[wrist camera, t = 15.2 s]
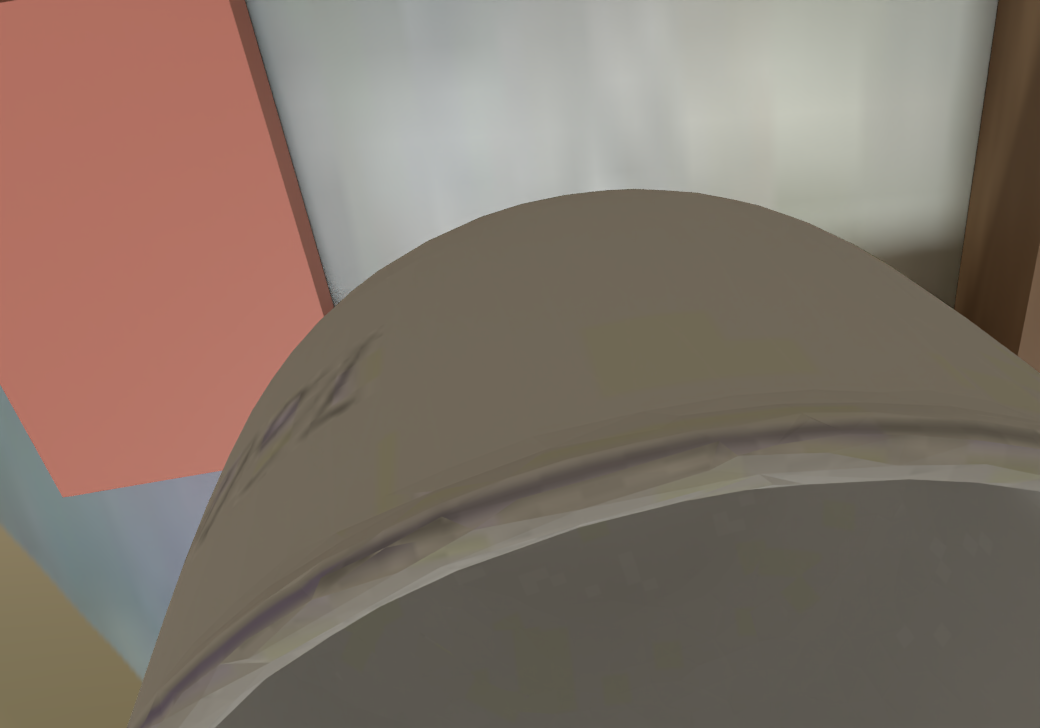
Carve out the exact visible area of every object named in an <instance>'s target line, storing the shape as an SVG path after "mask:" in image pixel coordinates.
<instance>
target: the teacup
mask: <svg viewBox="0 0 1040 728" xmlns="http://www.w3.org/2000/svg"><path fill="white" fill-rule="evenodd" d="M127 728H1040V373H1039V372H1038V371H1036V370H1035V369H1034V368H1033V367H1031V366H1030V365H1029V364H1027V363H1026V362H1025V361H1023V360H1022V359H1021V358H1019V357H1018V356H1017V355H1015V354H1014V353H1013V352H1011V351H1010V350H1009V349H1007V348H1006V347H1005V346H1003V345H1002V344H1001V343H999V342H998V341H997V340H995V339H994V338H993V337H991V336H990V335H989V334H987V333H986V332H985V331H983V330H982V329H980V328H979V327H978V326H976V325H975V324H974V323H972V322H971V321H970V320H968V319H967V318H966V317H964V316H963V315H961V314H960V313H958V312H957V311H955V310H954V309H953V308H951V307H950V306H948V305H947V304H945V303H944V302H942V301H941V300H939V299H938V298H937V297H935V296H934V295H932V294H931V293H929V292H928V291H926V290H925V289H923V288H922V287H921V286H919V285H918V284H916V283H915V282H913V281H912V280H910V279H909V278H907V277H906V276H904V275H903V274H901V273H900V272H899V271H897V270H896V269H894V268H893V267H891V266H890V265H888V264H887V263H885V262H883V261H881V260H880V259H878V258H876V257H874V256H873V255H871V254H869V253H867V252H866V251H864V250H862V249H860V248H859V247H857V246H855V245H853V244H852V243H850V242H847V241H845V240H843V239H841V238H839V237H837V236H835V235H833V234H831V233H829V232H826V231H824V230H822V229H820V228H818V227H816V226H814V225H812V224H810V223H807V222H804V221H802V220H799V219H796V218H793V217H790V216H788V215H785V214H782V213H779V212H776V211H773V210H770V209H767V208H764V207H761V206H758V205H754V204H750V203H746V202H741V201H737V200H732V199H727V198H722V197H716V196H711V195H706V194H701V193H692V192H679V191H665V190H644V189H624V190H606V191H596V192H587V193H578V194H570V195H563V196H558V197H553V198H548V199H543V200H539V201H534V202H529V203H524V204H520V205H517V206H514V207H511V208H508V209H504V210H501V211H498V212H495V213H492V214H489V215H486V216H482V217H480V218H478V219H475V220H473V221H471V222H469V223H466V224H464V225H462V226H460V227H458V228H455V229H453V230H451V231H449V232H447V233H444V234H442V235H440V236H438V237H436V238H433V239H431V240H429V241H427V242H425V243H424V244H422V245H420V246H419V247H417V248H415V249H414V250H412V251H410V252H409V253H407V254H405V255H404V256H402V257H400V258H399V259H397V260H395V261H394V262H392V263H390V264H389V265H387V266H385V267H384V268H382V269H380V270H379V271H377V272H376V273H375V274H373V275H372V276H371V277H370V278H368V279H367V280H366V281H364V282H363V283H362V284H360V285H359V286H358V287H357V288H355V289H354V290H353V291H352V292H350V293H349V294H348V295H347V296H346V297H345V298H344V299H343V300H342V301H341V302H339V303H338V304H337V305H336V306H335V307H334V308H333V309H332V310H331V311H330V312H329V313H327V314H326V315H325V316H324V317H323V318H322V319H321V320H320V321H319V322H318V323H317V324H316V325H315V326H314V328H313V329H312V330H311V331H310V332H309V333H308V334H307V335H306V337H305V338H304V339H303V340H302V341H301V342H300V343H299V344H298V346H297V347H296V348H295V349H294V350H293V351H292V352H291V354H290V355H289V356H288V358H287V359H286V361H285V362H284V363H283V365H282V366H281V367H280V369H279V370H278V372H277V373H276V374H275V376H274V377H273V378H272V380H271V381H270V383H269V385H268V386H267V388H266V389H265V391H264V393H263V394H262V396H261V397H260V399H259V400H258V402H257V404H256V405H255V407H254V408H253V410H252V412H251V414H250V416H249V418H248V420H247V421H246V423H245V425H244V427H243V429H242V431H241V433H240V435H239V437H238V439H237V441H236V443H235V445H234V447H233V449H232V451H231V453H230V455H229V457H228V459H227V462H226V464H225V466H224V468H223V471H222V473H221V475H220V478H219V480H218V482H217V484H216V487H215V489H214V491H213V494H212V496H211V498H210V500H209V503H208V505H207V507H206V510H205V512H204V515H203V517H202V520H201V522H200V525H199V527H198V530H197V532H196V535H195V537H194V540H193V542H192V545H191V547H190V550H189V552H188V555H187V557H186V560H185V563H184V565H183V568H182V571H181V574H180V576H179V579H178V582H177V585H176V588H175V590H174V593H173V596H172V599H171V601H170V604H169V607H168V610H167V613H166V616H165V618H164V621H163V624H162V627H161V630H160V633H159V636H158V639H157V642H156V645H155V648H154V650H153V653H152V656H151V659H150V662H149V665H148V668H147V671H146V674H145V677H144V680H143V683H142V685H141V688H140V692H139V694H138V697H137V700H136V703H135V706H134V709H133V712H132V715H131V717H130V720H129V723H128V727H127Z"/></svg>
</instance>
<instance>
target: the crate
mask: <svg viewBox="0 0 1040 728" xmlns="http://www.w3.org/2000/svg"><path fill="white" fill-rule="evenodd" d="M954 310H955V311H957V312H958V313H960V314H961V315H963V316H964V317H966V318H967V319H968V320H970V321H971V322H972V323H974V324H975V325H976V326H978V327H979V328H980V329H982V330H983V331H985V332H986V333H987V334H989V335H990V336H991V337H993V338H994V339H995V340H997V341H998V342H999V343H1001V344H1002V345H1003V346H1005V347H1006V348H1007V349H1009V350H1010V351H1011V352H1013V353H1014V354H1015V355H1017V356H1018V357H1019V358H1021V359H1022V360H1023V361H1025V362H1026V363H1027V364H1029V365H1030V366H1031V367H1033V368H1034V369H1035V370H1036V371H1038V372H1039V373H1040V0H999V2H998V9H997V16H996V23H995V30H994V37H993V44H992V51H991V58H990V65H989V71H988V78H987V85H986V92H985V99H984V106H983V113H982V120H981V127H980V134H979V141H978V148H977V154H976V161H975V168H974V175H973V182H972V189H971V196H970V203H969V210H968V217H967V224H966V231H965V237H964V244H963V251H962V258H961V265H960V272H959V279H958V286H957V293H956V300H955V307H954Z"/></svg>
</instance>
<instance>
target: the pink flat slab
mask: <svg viewBox="0 0 1040 728" xmlns="http://www.w3.org/2000/svg"><path fill="white" fill-rule="evenodd" d="M333 308H334V306H333V302H332V299H331V295H330V292H329V288H328V285H327V282H326V278H325V275H324V271H323V268H322V264H321V261H320V257H319V254H318V251H317V247H316V244H315V240H314V237H313V233H312V230H311V227H310V223H309V220H308V216H307V213H306V209H305V206H304V202H303V199H302V196H301V192H300V189H299V185H298V182H297V178H296V175H295V171H294V168H293V165H292V161H291V158H290V154H289V151H288V147H287V144H286V140H285V137H284V134H283V130H282V127H281V123H280V120H279V116H278V113H277V110H276V106H275V103H274V99H273V96H272V92H271V89H270V85H269V82H268V79H267V75H266V72H265V68H264V65H263V61H262V58H261V54H260V51H259V48H258V44H257V41H256V37H255V34H254V30H253V27H252V23H251V20H250V17H249V13H248V10H247V6H246V3H245V0H0V385H1V386H2V388H3V390H4V392H5V394H6V395H7V397H8V399H9V401H10V403H11V404H12V406H13V408H14V410H15V412H16V413H17V415H18V417H19V419H20V421H21V423H22V424H23V426H24V428H25V430H26V432H27V433H28V435H29V437H30V439H31V441H32V442H33V444H34V446H35V448H36V450H37V451H38V453H39V455H40V457H41V459H42V460H43V462H44V464H45V466H46V468H47V469H48V471H49V473H50V475H51V477H52V478H53V480H54V482H55V484H56V486H57V487H58V489H59V491H60V493H61V495H62V496H63V497H68V496H74V495H80V494H86V493H92V492H98V491H104V490H110V489H115V488H121V487H127V486H133V485H139V484H145V483H151V482H157V481H162V480H168V479H174V478H180V477H186V476H192V475H198V474H204V473H210V472H215V471H221V470H223V468H224V466H225V464H226V462H227V459H228V457H229V455H230V453H231V451H232V449H233V447H234V445H235V443H236V441H237V439H238V437H239V435H240V433H241V431H242V429H243V427H244V425H245V423H246V421H247V420H248V418H249V416H250V414H251V412H252V410H253V408H254V407H255V405H256V404H257V402H258V400H259V399H260V397H261V396H262V394H263V393H264V391H265V389H266V388H267V386H268V385H269V383H270V381H271V380H272V378H273V377H274V376H275V374H276V373H277V372H278V370H279V369H280V367H281V366H282V365H283V363H284V362H285V361H286V359H287V358H288V356H289V355H290V354H291V352H292V351H293V350H294V349H295V348H296V347H297V346H298V344H299V343H300V342H301V341H302V340H303V339H304V338H305V337H306V335H307V334H308V333H309V332H310V331H311V330H312V329H313V328H314V326H315V325H316V324H317V323H318V322H319V321H320V320H321V319H322V318H323V317H324V316H325V315H326V314H327V313H329V312H330V311H331V310H332V309H333Z"/></svg>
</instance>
